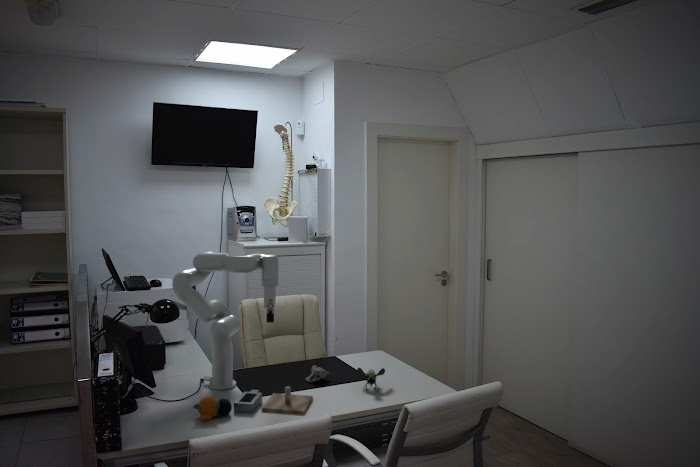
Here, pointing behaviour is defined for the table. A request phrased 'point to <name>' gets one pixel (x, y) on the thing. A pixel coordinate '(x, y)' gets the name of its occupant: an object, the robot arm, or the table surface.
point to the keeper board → (287, 403)
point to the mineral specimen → (316, 374)
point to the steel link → (252, 397)
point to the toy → (213, 407)
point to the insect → (371, 376)
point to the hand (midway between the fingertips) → (270, 319)
